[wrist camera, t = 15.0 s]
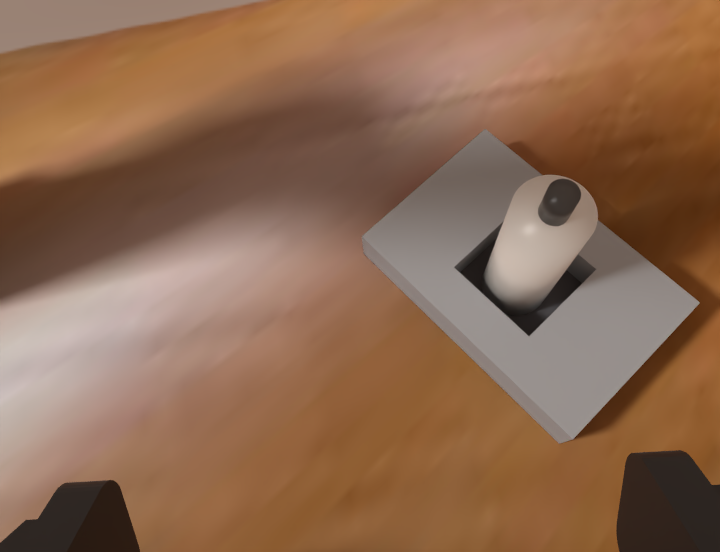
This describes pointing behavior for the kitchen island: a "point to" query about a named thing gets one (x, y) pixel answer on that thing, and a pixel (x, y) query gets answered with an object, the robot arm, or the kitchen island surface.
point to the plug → (538, 242)
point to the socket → (555, 314)
